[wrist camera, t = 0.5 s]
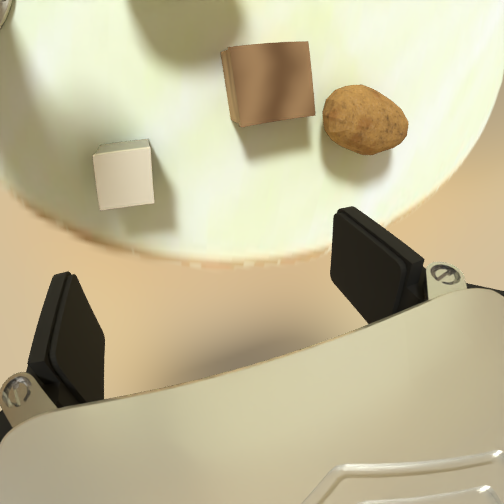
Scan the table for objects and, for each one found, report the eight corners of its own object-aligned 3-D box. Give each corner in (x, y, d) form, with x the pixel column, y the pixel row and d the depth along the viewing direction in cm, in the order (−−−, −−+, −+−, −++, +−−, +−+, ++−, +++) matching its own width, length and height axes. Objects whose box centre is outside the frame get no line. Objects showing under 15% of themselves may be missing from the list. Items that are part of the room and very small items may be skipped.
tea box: (229, 121, 38) (241, 127, 33) (218, 50, 32) (229, 47, 28) (296, 110, 39) (315, 115, 35) (288, 44, 34) (308, 41, 30)
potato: (377, 150, 47) (411, 165, 40) (302, 142, 42) (333, 157, 36) (387, 93, 42) (424, 101, 35) (311, 75, 37) (345, 78, 31)
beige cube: (105, 191, 37) (99, 210, 31) (99, 144, 33) (92, 155, 28) (152, 185, 38) (154, 203, 33) (149, 137, 35) (150, 148, 30)
